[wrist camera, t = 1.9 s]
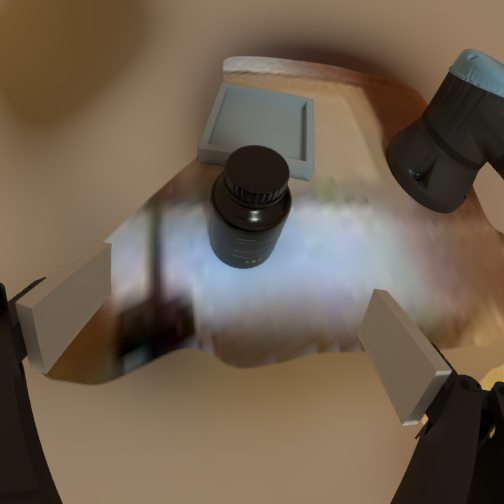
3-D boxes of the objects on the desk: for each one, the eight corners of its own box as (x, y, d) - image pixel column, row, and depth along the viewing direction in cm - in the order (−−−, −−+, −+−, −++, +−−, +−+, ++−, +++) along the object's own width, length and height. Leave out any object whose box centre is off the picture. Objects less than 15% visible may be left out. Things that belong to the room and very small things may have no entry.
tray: (309, 110, 44) (313, 99, 42) (308, 181, 37) (314, 169, 35) (221, 94, 43) (222, 82, 41) (197, 161, 37) (197, 147, 34)
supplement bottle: (202, 220, 33) (202, 140, 22) (262, 208, 35) (284, 130, 24) (218, 278, 30) (224, 212, 20) (282, 263, 32) (318, 195, 21)
